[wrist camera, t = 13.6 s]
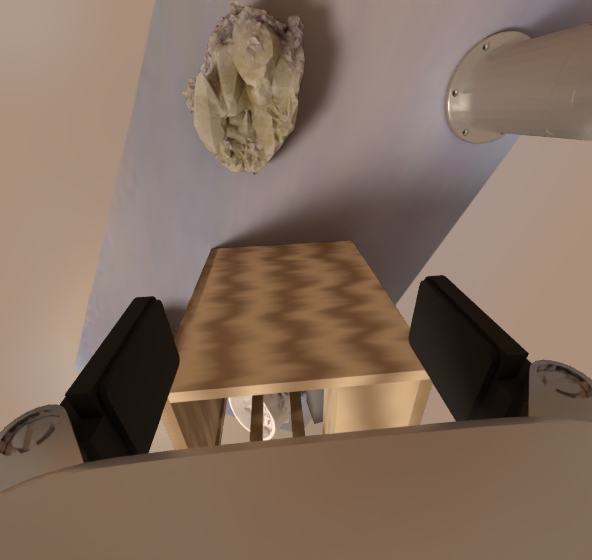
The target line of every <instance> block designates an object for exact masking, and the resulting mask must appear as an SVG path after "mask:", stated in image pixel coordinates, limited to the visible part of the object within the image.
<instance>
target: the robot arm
mask: <svg viewBox="0 0 592 560" xmlns="http://www.w3.org/2000/svg"><path fill="white" fill-rule="evenodd" d="M452 92H453V95H452ZM445 114H446V119H447V122H448V125H449V127H450V129H451V130H452V132H453V133H454V134H455V135H456V136H457V137H458V138H460V139H462V140H463V141H467V142H470V143H487V142H491V141H494V140H497V139H499V138H501V137H503V136H504V135H506V134H518V135H530V136H542V137H554V138H565V139H576V140H592V22H589V23H585V24H582V25H578V26H575V27H571V28H568V29H564V30H561V31H557V32H554V33H550V34H546V35H543V36H539V37H536V38H530V37H529V36H528V35H526V34H524V33H522V32H518V31H505V32H500V33H497V34H494V35H491V36H489V37H487V38H485V39H483V40H482V41H480V42H479V43H478V44H476V45H475V46H474V47H473V48H472V49H471V50H470V51H469V52H468V53H467V54H466V55H465V56H464V57H463V58H462V60H461V61H460V62H459V64H458V65H457V67H456V69H455V71H454V73H453V74H452V77H451V79H450V82H449V85H448V88H447V92H446V97H445ZM408 338H409V344H410V346H411V348H412V350H413V351H414V353H415V355H416V356H417V358H418V360H419V361H420V363H421V365H422V366H423V368H424V369H425V371H426V373H427V374H428V376H429V378H430V379H431V381H432V383H433V384H434V386H435V387H436V389H437V391H438V392H439V394H440V396H441V397H442V399H443V401H444V402H445V404H446V406H447V407H448V409H449V411H450V412H451V414H452V415H453V417H454V419H455V420H456V422H446V423H435V424H426V425H414V426H404V427H393V428H383V429H373V430H363V431H353V432H343V433H333V434H323V435H314V436H303V437H293V438H284V439H274V440H264V441H255V442H245V443H236V444H227V445H217V446H208V447H199V448H189V449H180V450H172V451H163V452H156V453H149V450H150V447H151V444H152V441H153V438H154V435H155V433H156V430H157V427H158V424H159V421H160V418H161V416H162V413H163V410H164V407H165V404H166V402H167V399H168V396H169V393H170V390H171V387H172V385H173V382H174V379H175V376H176V373H177V370H178V368H179V364H180V357H179V353H178V350H177V347H176V344H175V341H174V338H173V335H172V332H171V329H170V326H169V323H168V320H167V317H166V314H165V311H164V307H163V304H162V302H161V301H160V300H156V298H155V297H153V296H150V297H137V298H135V299H134V300H133V301H132V302H131V304H130V305H129V307H128V308H127V309H126V311H125V312H124V313H123V315H122V316H121V318H120V319H119V320H118V322H117V323H116V325H115V326H114V327H113V329H112V330H111V331H110V333H109V334H108V336H107V337H106V338H105V340H104V341H103V343H102V344H101V345H100V347H99V348H98V350H97V351H96V352H95V354H94V355H93V356H92V358H91V359H90V361H89V362H88V363H87V365H86V366H85V368H84V369H83V370H82V372H81V373H80V374H79V376H78V377H77V379H76V380H75V381H74V383H73V384H72V386H71V387H70V388H69V390H68V391H67V392H66V394H65V396H66V397H65V398H64V400H63V401H62V402H61V404H60V405H46V406H41V407H38V408H35V409H33V410H31V411H28V412H26V413H24V414H23V415H21V416H20V417H18V418H16V419H15V420H14V421H12V422H11V423H10V424H8V425H7V426H6V427H5V428H4V429H3V430H2V431H1V432H0V560H592V380H591V379H590V378H589V377H587V376H586V375H585V374H583V373H582V372H580V371H578V370H576V369H575V368H573V367H571V366H568V365H565V364H563V363H559V362H556V361H551V360H540V361H535V362H534V363H531V362H529V361H528V360H527V359H526V358H527V356H528V354H529V353H528V352H527V351H525V350H524V349H523V348H522V347H521V346H520V345H519V344H518V343H517V342H515V340H514V339H512V338H511V337H510V336H509V335H508V334H507V333H506V332H505V331H504V330H503V329H501V327H499V326H498V325H497V324H496V323H495V322H494V321H493V320H492V319H491V318H490V317H489V316H488V315H487V314H485V313H484V312H483V311H482V310H481V309H480V308H479V307H478V306H477V305H476V304H475V303H474V302H472V301H471V300H470V299H469V298H468V297H467V296H466V295H465V294H464V293H463V292H462V291H461V290H459V289H458V288H457V287H456V286H455V285H454V284H453V283H452V282H451V281H450V280H449V279H448V278H446V277H445V276H443V275H440V276H428V277H426V278H425V280H424V281H421V283H420V286H419V290H418V295H417V299H416V305H415V309H414V313H413V318H412V323H411V327H410V332H409V337H408Z"/></svg>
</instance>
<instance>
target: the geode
mask: <svg viewBox="0 0 592 560" xmlns="http://www.w3.org/2000/svg"><path fill="white" fill-rule="evenodd" d="M230 6H231V8H232V11H231V12H230V13H229V14H228V15H227V16H226V17H221V18H222V21H219V22H218V25H217V26H215V27H214V28H215V31H214V32H213V33H212V34H211V35H210V39H209V44H208V45H207V51H208V53H207V54H206V55H205V56H204V59H205V63H204V64H203V65H202V66H201V69H200V70H202V71H203V72H202V71H201V72H199V73H198V75H197V76H196V79H194V78H190V79H189V83H186V84H187V86H188V88H187V89H185V90H184V91H183V92H182V93H183V94H184V95H185V96H186V104H187V106H188V108H189V110H190V111H191V114H192V116H193V117H194V122H193V124H194V126H195V128H196V130H197V132H198V134H199V136H200V138H201V140H202V142H203V143H204V145H205V146H206V147H207V148H208V149H209V150H210V152H212V153H214V154H215V155H216V159H217V158H219V159H220V162H221V164H222V165H224V166H225V167H228V168H229V169H230V171H236V172H240V171H246V172H251V173H253V174H254V175H255V174H256V173H258V172H259V171H260V170H261V169H262V168H263V166H264V165H265V164H266V163H268V162H269V161H270V159H271V157H272V156H273V155H274V154H275V153H276V152H277V151H278V150H280V147H281V145H282V144H283V142H284V141H285V139H286V138H287V136H288V135H289V134H290V133H291V132H292V131H293V130H294V128H295V122H296V116H297V112H298V93H299V89H300V83H301V80H302V77H303V73H304V64H305V58H304V52H303V47H302V41H303V32H304V26H303V24H302V22H301V20H300V18H299V17H298V16H297V15H294V16H290V17H289V18H288V19H287V20H286V21H284V20H282V19H277V20H275V19H273V16H270V15H268V14H267V12H266V10H262V9H258V8H252V7H251V6H246V7H241V6H239V4H238V2H237V0H236V1H235V2H233V3H232V4H230Z"/></svg>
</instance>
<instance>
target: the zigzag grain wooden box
mask: <svg viewBox="0 0 592 560" xmlns="http://www.w3.org/2000/svg"><path fill="white" fill-rule="evenodd" d="M409 332H410V327H409V326H408V324H407V323H406V321H405V320H404V318H403V317H402V315H401V314H400V312H399V311H398V309H397V308H396V306H395V305H394V303H393V302H392V300H391V299H390V297H389V296H388V294H387V293H386V291H385V290H384V288H383V287H382V285H381V284H380V282H379V281H378V279H377V278H376V276H375V275H374V273H373V272H372V270H371V268H370V267H369V265H368V264H367V262H366V261H365V259H364V258H363V256H362V255H361V253H360V252H359V250H358V249H357V247H356V246H355V244H354V243H353V241H352V240H351V241H334V242H318V243H301V244H285V245H268V246H252V247H235V248H219V249H211V251H210V253H209V256H208V258H207V261H206V263H205V265H204V268H203V270H202V273H201V275H200V277H199V280H198V282H197V285H196V287H195V290H194V292H193V294H192V297H191V299H190V302H189V304H188V306H187V309H186V311H185V314H184V316H183V319H182V321H181V323H180V326H179V328H178V331H177V333H176V335H175V338H174V341H175V344H176V347H177V350H178V353H179V357H180V364H179V368H178V370H177V373H176V376H175V379H174V382H173V385H172V387H171V390H170V393H169V396H168V399H167V402H166V404H165V407H164V410H163V413H162V416H161V419H162V421H163V424H164V426H165V428H166V431H167V433H168V435H169V438H170V440H171V442H172V445H173V447H174V449H175V450H180V449H189V448H199V447H208V446H217V445H221V438H222V431H223V423H224V416H225V410H226V403H227V398H230V397H241V396H252V407H251V426H250V442H255V441H263V401H264V394H273V393H284V392H289V395H290V408H291V421H292V433H293V437H303V436H305V431H304V422H303V414H302V405H301V396H300V391H306V390H317V389H324V406H323V434H333V433H343V432H353V431H363V430H373V429H383V428H393V427H404V426H414V425H420V422H421V419H422V416H423V413H424V410H425V406H426V403H427V400H428V397H429V394H430V390H431V387H432V384H433V383H432V381H431V379H430V378H429V376H428V374H427V373H426V371H425V369H424V368H423V366H422V365H421V363H420V361H419V360H418V358H417V356H416V355H415V353H414V351H413V350H412V348H411V346H410V344H409V338H408V337H409Z"/></svg>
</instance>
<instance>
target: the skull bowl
mask: <svg viewBox="0 0 592 560" xmlns="http://www.w3.org/2000/svg"><path fill="white" fill-rule="evenodd" d="M285 393H286V394H288V395H286V394H285ZM285 393H281V394H282V395H281V396H280V395H279V394H278V393H273V394H264V401H263V440H270V439H271V438H272V437H273V436H274V435H275V434H276V433H277V432H278V431H279V429H280V428H281V425H282V424H283V423H288V421H289V413H290V412H291V408H290V395H289V392H285ZM229 403H230V406H231V409H232V411H233V413H234V415H235V417H236V418H237V420H238V421H239V422H240V423H241V425H242V426H243V427H244V428H246V429H247V430H248V431H249V432H250V426H251V407H252V396H241V397H230V398H229Z"/></svg>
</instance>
